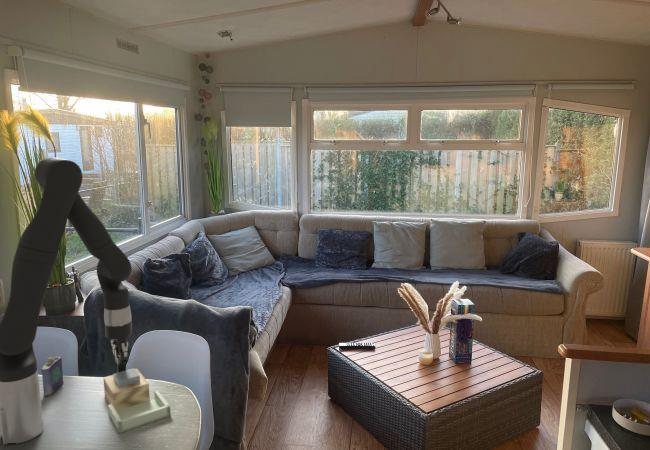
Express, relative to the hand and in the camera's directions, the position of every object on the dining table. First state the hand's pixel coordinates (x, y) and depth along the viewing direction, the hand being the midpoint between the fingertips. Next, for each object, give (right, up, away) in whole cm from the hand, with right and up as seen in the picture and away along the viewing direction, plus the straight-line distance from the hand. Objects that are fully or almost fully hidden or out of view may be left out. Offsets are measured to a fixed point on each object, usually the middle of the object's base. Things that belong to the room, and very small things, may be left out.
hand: (122, 373), depth 146 cm
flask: (-23, -6, +3) cm, 24 cm away
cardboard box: (+2, -7, -2) cm, 8 cm away
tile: (+3, -1, -3) cm, 5 cm away
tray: (+10, -9, -11) cm, 17 cm away
